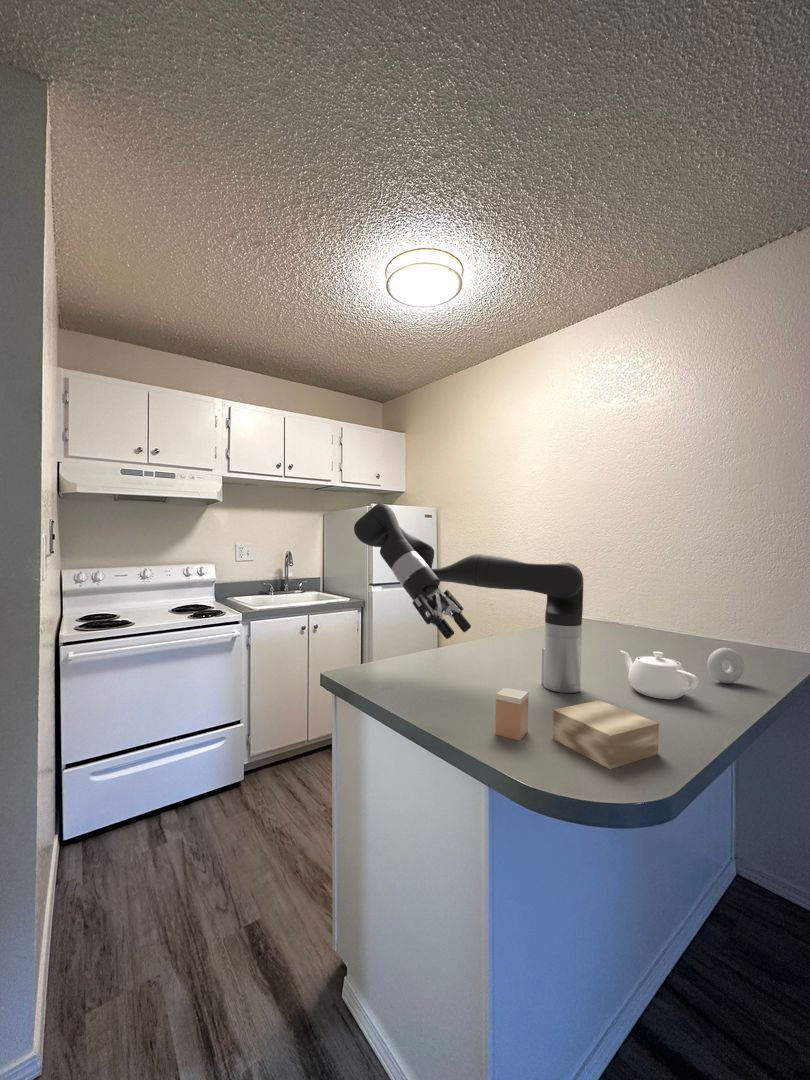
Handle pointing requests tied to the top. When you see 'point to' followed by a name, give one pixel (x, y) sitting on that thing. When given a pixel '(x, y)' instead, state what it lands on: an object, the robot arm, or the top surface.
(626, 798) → the top surface
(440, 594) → the robot arm
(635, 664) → the teapot
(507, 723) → the cube
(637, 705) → the top surface
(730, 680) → the donut
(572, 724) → the pine box
